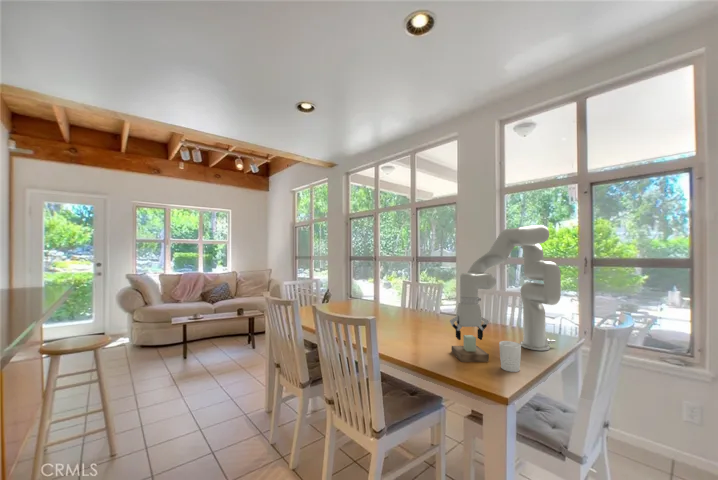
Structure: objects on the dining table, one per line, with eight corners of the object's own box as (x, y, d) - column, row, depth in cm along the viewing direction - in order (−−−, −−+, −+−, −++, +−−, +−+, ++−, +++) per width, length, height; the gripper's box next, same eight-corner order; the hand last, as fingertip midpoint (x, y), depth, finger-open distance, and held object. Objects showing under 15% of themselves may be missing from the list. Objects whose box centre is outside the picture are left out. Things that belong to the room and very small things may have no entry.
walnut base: (476, 352, 142) (476, 345, 142) (488, 361, 130) (488, 354, 130) (451, 352, 141) (451, 345, 141) (461, 361, 129) (461, 354, 129)
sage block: (472, 348, 138) (472, 335, 138) (475, 351, 134) (475, 337, 134) (463, 348, 138) (463, 335, 138) (466, 351, 134) (466, 337, 134)
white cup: (495, 365, 126) (495, 341, 126) (513, 364, 126) (513, 340, 127) (506, 373, 118) (506, 347, 118) (525, 372, 118) (525, 346, 119)
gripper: (484, 299, 140) (484, 336, 140) (447, 299, 140) (447, 336, 139) (491, 302, 133) (492, 341, 132) (452, 302, 132) (453, 341, 132)
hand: (469, 339), depth 136 cm, fingers open, 9 cm apart
